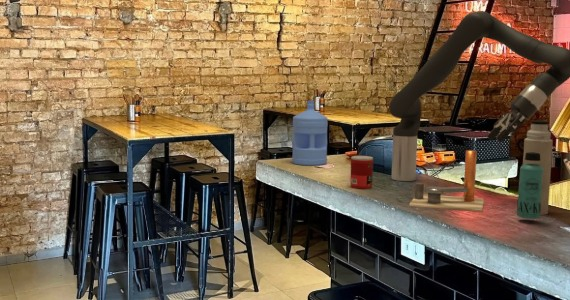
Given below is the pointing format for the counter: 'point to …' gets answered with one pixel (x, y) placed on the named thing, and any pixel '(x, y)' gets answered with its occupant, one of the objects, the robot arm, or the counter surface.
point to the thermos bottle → (541, 144)
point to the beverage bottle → (530, 188)
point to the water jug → (309, 137)
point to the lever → (468, 179)
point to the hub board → (444, 201)
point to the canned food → (361, 172)
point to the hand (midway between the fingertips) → (493, 139)
